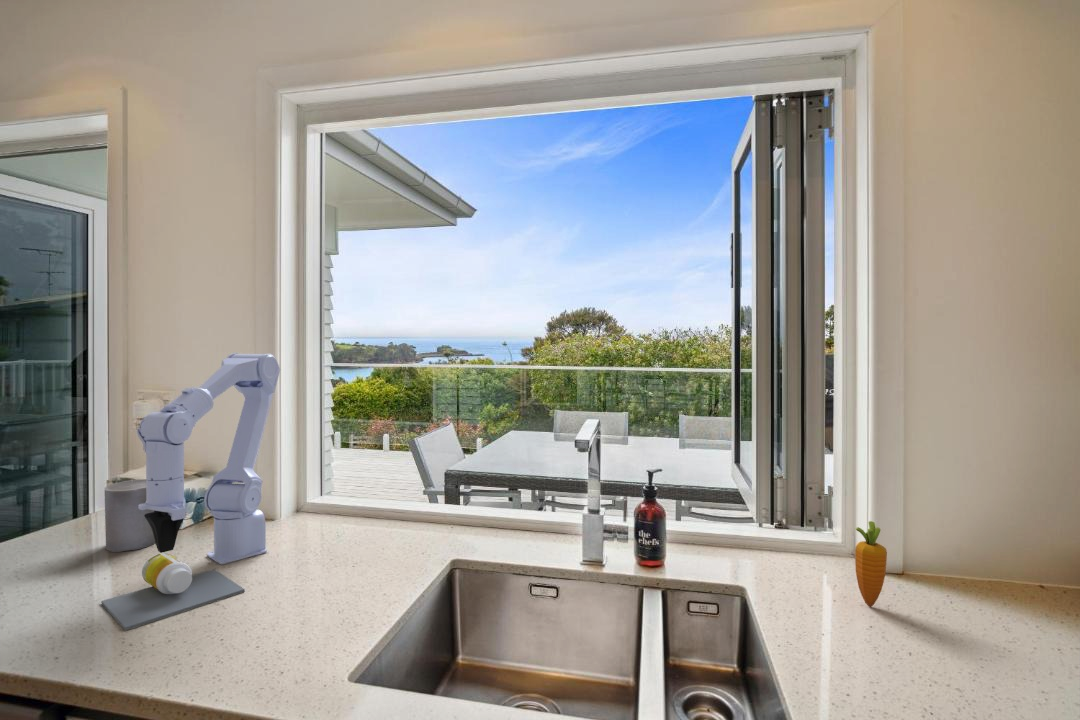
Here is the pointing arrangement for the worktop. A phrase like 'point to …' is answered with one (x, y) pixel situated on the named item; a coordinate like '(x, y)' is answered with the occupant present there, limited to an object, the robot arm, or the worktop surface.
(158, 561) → the supplement bottle
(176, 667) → the worktop surface
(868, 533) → the carrot
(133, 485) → the pillar candle
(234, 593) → the mat
